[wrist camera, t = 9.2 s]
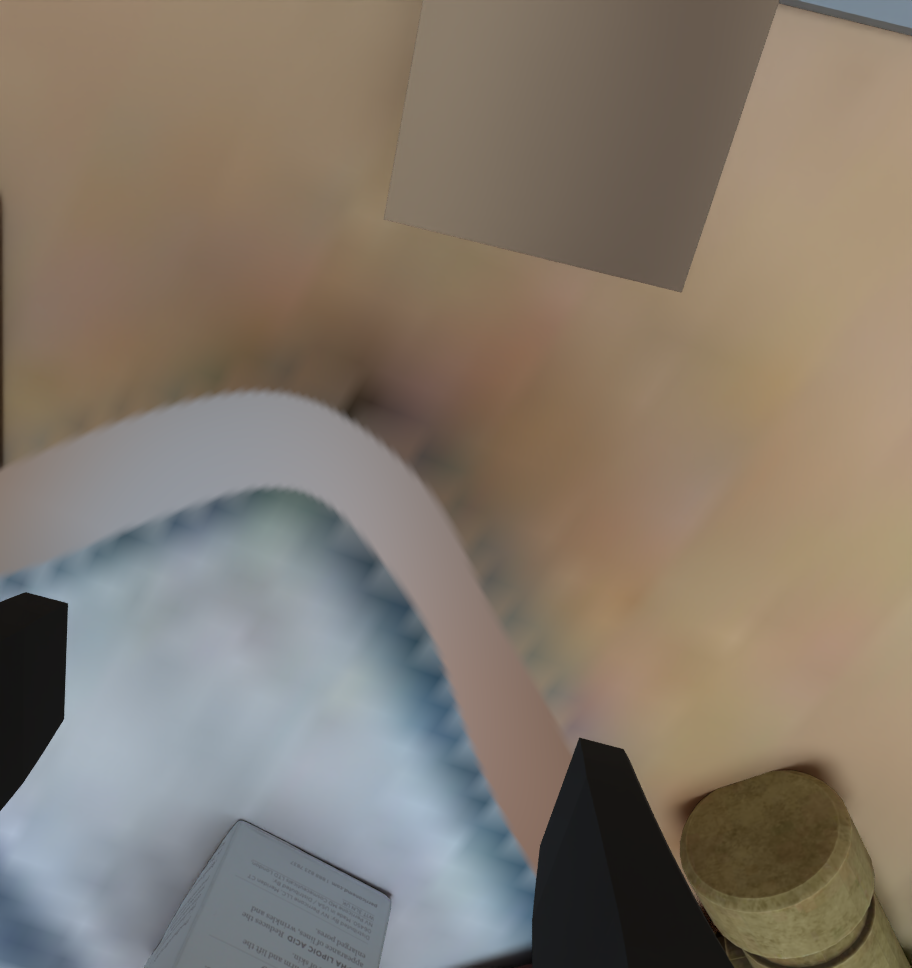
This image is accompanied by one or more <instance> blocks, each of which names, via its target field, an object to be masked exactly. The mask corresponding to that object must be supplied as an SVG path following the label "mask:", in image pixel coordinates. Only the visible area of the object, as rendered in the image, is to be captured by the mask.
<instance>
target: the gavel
mask: <svg viewBox="0 0 912 968" xmlns="http://www.w3.org/2000/svg"><path fill="white" fill-rule="evenodd" d="M680 858H681V863H682V867H683V870H684V872H685V874H686V876H687V878H688V880H689V882H690V884H691V885H692V887H693V889H694V891H695V892H696V894H697V896H698V897H699V899H700V901H701V902H702V904H703V906H704V908H705V909H706V911H707V913H708V914H709V916H710V918H711V919H712V921H713V923H714V925H715V926H716V927H717V928H718V929H719V931H720V932H721V933H722V934H723V936H722V935H721V934H720V933H719V932H714V934H715V935H716V937H717V939H718V941H719V942H720V944H721V946H722V947H723V949H724V951H725V953H726V954H727V956H728V958H729V960H730V961H731V963H732V964H733V966H734V968H912V966H910V964H909V962H908V960H907V958H906V956H905V954H904V952H903V950H902V948H901V946H900V944H899V942H898V940H897V938H896V936H895V934H894V932H893V930H892V928H891V926H890V924H889V921H888V919H887V917H886V915H885V913H884V911H883V909H882V907H881V905H880V903H879V901H878V899H877V897H876V895H875V893H874V871H873V866H872V861H871V858H870V856H869V854H868V852H867V850H866V848H865V846H864V844H863V842H862V840H861V838H860V836H859V833H858V831H857V829H856V827H855V825H854V823H853V821H852V819H851V817H850V815H849V813H848V811H847V809H846V807H845V805H844V803H843V801H842V799H841V798H840V797H839V796H838V795H837V793H836V792H835V791H834V790H833V789H832V788H831V787H829V786H828V785H827V784H825V783H824V782H823V781H821V780H819V779H817V778H815V777H813V776H811V775H809V774H805V773H802V772H798V771H794V770H781V771H771V772H768V773H765V774H762V775H758V776H755V777H752V778H749V779H746V780H743V781H740V782H737V783H734V784H731V785H728V786H725V787H722V788H719V789H716V790H715V791H713V792H712V793H710V794H709V795H707V796H706V797H705V798H704V799H702V800H701V801H700V802H699V803H698V805H697V806H696V807H695V809H694V810H693V812H692V813H691V814H690V816H689V818H688V820H687V822H686V824H685V826H684V828H683V832H682V836H681V841H680ZM513 968H532V964H527V965H523V966H518V967H513Z"/></svg>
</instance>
